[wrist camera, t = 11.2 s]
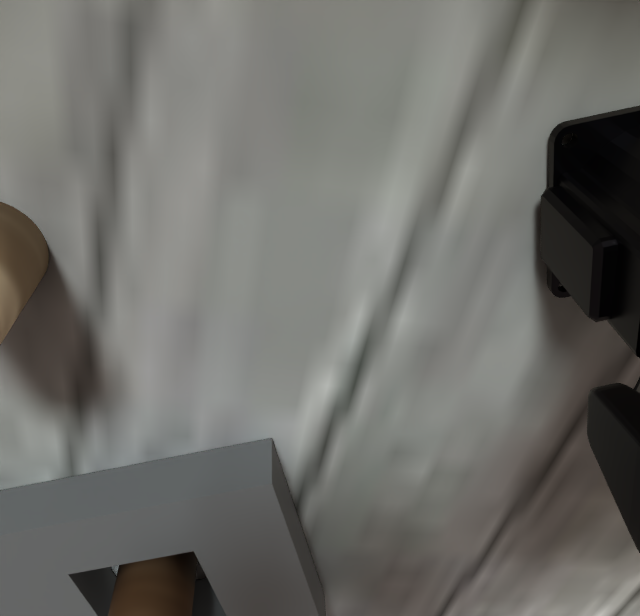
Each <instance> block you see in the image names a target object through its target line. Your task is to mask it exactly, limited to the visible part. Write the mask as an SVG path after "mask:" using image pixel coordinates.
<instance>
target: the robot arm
mask: <svg viewBox="0 0 640 616" xmlns="http://www.w3.org/2000/svg"><path fill="white" fill-rule="evenodd" d="M568 133H572V134H573V136H572V139H571V140H570V142H569V143H567V144H565V145H562V139H563V137H564V136H565V135H566V134H568ZM541 258H542V260H543V261H544V262H545V264H546V265H547V285H548V288H549V289H550V291H551V292H552V293H553V294H554V295H555V296H556V297H559V298H563V297H569V296H572V298H573V299H574V300H575V301H576V303H577V304H578V305H579V306H580V308H581V309H582V310H583V311H584V313H585V314H586V315H587V316H588V317H589V318H591V319H592V320H594V321H595V322H599V321H604V320H607V321H608V322H609V323H610V324H611V326H612V327H613V328H614V329H615V330H616V332H617V333H618V334H619V335H620V336H621V338H622V339H623V340H624V341H625V342H626V344H627V345H628V346H629V347H630V348H631V350H632V351H633V352H634V353H635V354H636V356H637V357H639V358H640V106H636V107H631V108H626V109H622V110H617V111H612V112H608V113H603V114H598V115H593V116H589V117H584V118H579V119H575V120H570V121H565V122H563V123H560V124H558V125H557V126H556V127H555V128H554V129H553V131H552V132H551V134H550V138H549V185H548V188H547V189H546V190H545V191H544V193H543V194H542V196H541ZM560 283H561V284H562V285H563V286H559V284H560ZM587 435H588V439H589V443H590V446H591V448H592V451H593V453H594V455H595V457H596V459H597V462H598V464H599V466H600V468H601V471H602V473H603V475H604V477H605V479H606V482H607V484H608V486H609V488H610V491H611V493H612V495H613V497H614V499H615V502H616V504H617V506H618V508H619V510H620V513H621V515H622V517H623V519H624V522H625V524H626V526H627V528H628V530H629V533H630V535H631V537H632V539H633V541H634V543H635V545H636V547H637V549H638V551H639V553H640V378H639V380H638V382H637V384H636V386H635V388H634V389H632V388H630V387H629V386H627V385H624V384H621V383H615V384H610V385H605V386H601V387H596V388H593V389H592V390H591V391H590V393H589V397H588V418H587Z"/></svg>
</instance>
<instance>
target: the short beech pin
mask: <svg viewBox="0 0 640 616" xmlns="http://www.w3.org/2000/svg"><path fill="white" fill-rule="evenodd" d="M48 263H49V252H48V247H47V243H46V241H45V238H44V236H43V235H42V233H41V231H40V230H39V229H38V227H37V226H36V225H35V224H34V223H33V222H32V220H31V219H29V218H28V217H27V216H26V215H25V214H23V213H22V212H20V211H19V210H17V209H15V208H14V207H12V206H10V205H7V204H5V203H2V202H0V345H1V343H2V342H3V340H4V338H5V337H6V335H7V334H8V332H9V330H10V329H11V327H12V326H13V324H14V322H15V321H16V319H17V318H18V316H19V314H20V313H21V311H22V310H23V308H24V306H25V305H26V303H27V302H28V300H29V298H30V297H31V295H32V294H33V292H34V290H35V289H36V287H37V286H38V284H39V282H40V281H41V279H42V278H43V276H44V274H45V273H46V270H47V268H48Z"/></svg>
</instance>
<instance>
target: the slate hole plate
mask: <svg viewBox="0 0 640 616" xmlns="http://www.w3.org/2000/svg"><path fill="white" fill-rule="evenodd" d="M192 551H194V553H195V555H196V557H197V559H198V561H199V563H200V565H201V567H202V569H203V571H204V572H205V574H206V576H207V579H201V580H196V581H195V589H194V599H193V608H192V616H326V612H325V599H324V593H323V590H322V587H321V584H320V581H319V578H318V575H317V572H316V569H315V566H314V563H313V560H312V557H311V554H310V551H309V548H308V545H307V542H306V539H305V536H304V533H303V530H302V527H301V524H300V521H299V518H298V515H297V512H296V509H295V506H294V503H293V500H292V497H291V494H290V491H289V488H288V485H287V482H286V479H285V476H284V473H283V470H282V467H281V464H280V461H279V458H278V455H277V452H276V449H275V446H274V443H273V440H272V438H270V439H264V440H259V441H254V442H249V443H244V444H239V445H233V446H228V447H223V448H218V449H213V450H208V451H202V452H197V453H192V454H187V455H182V456H177V457H171V458H166V459H161V460H156V461H151V462H145V463H140V464H135V465H130V466H125V467H120V468H114V469H109V470H104V471H99V472H94V473H89V474H83V475H78V476H73V477H68V478H63V479H58V480H52V481H47V482H42V483H37V484H32V485H27V486H21V487H16V488H11V489H6V490H1V491H0V616H108V613H109V608H110V604H111V600H112V595H113V591H114V586H115V582H116V576H115V575H114V573H113V571H112V570H111V568H110V567H111V566H117V565H122V564H127V563H133V562H138V561H144V560H149V559H154V558H160V557H165V556H170V555H176V554H181V553H187V552H192Z"/></svg>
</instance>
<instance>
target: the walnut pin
mask: <svg viewBox="0 0 640 616" xmlns="http://www.w3.org/2000/svg"><path fill="white" fill-rule="evenodd" d="M197 561H198V559H197V557H196V555H195V553H194V551H192V552H187V553H181V554H176V555H170V556H165V557H160V558H154V559H149V560H144V561H138V562H133V563H127V564H122V565H119V568H118V573H117V577H116V582H115V586H114V591H113V595H112V600H111V604H110V608H109V613H108V616H192V608H193V599H194V589H195V580H196V570H197Z"/></svg>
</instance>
